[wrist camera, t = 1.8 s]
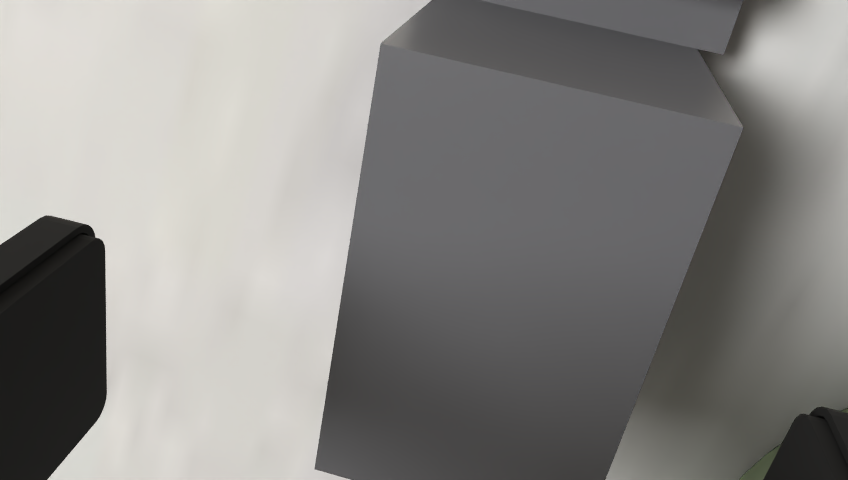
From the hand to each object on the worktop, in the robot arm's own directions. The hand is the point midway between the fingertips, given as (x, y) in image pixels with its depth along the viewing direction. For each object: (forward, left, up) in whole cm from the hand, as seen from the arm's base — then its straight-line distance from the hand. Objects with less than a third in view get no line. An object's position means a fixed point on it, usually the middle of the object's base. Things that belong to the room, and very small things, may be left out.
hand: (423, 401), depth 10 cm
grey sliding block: (-1, 0, -8) cm, 8 cm away
